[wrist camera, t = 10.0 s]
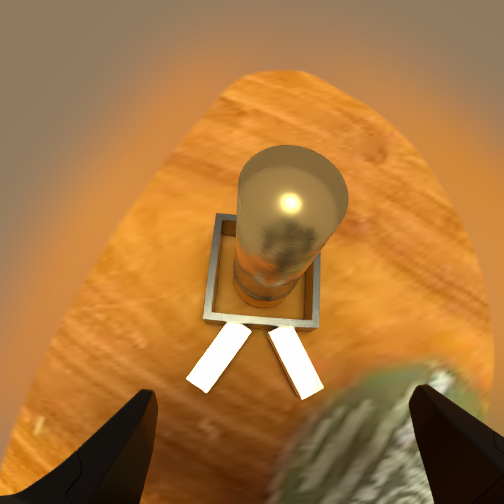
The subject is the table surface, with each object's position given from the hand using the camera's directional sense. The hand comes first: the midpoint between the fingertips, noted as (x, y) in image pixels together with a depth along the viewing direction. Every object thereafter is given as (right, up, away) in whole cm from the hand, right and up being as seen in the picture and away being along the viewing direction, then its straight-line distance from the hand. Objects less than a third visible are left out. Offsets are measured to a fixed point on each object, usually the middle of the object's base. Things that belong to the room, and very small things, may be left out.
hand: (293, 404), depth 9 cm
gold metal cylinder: (-1, +3, +11) cm, 11 cm away
